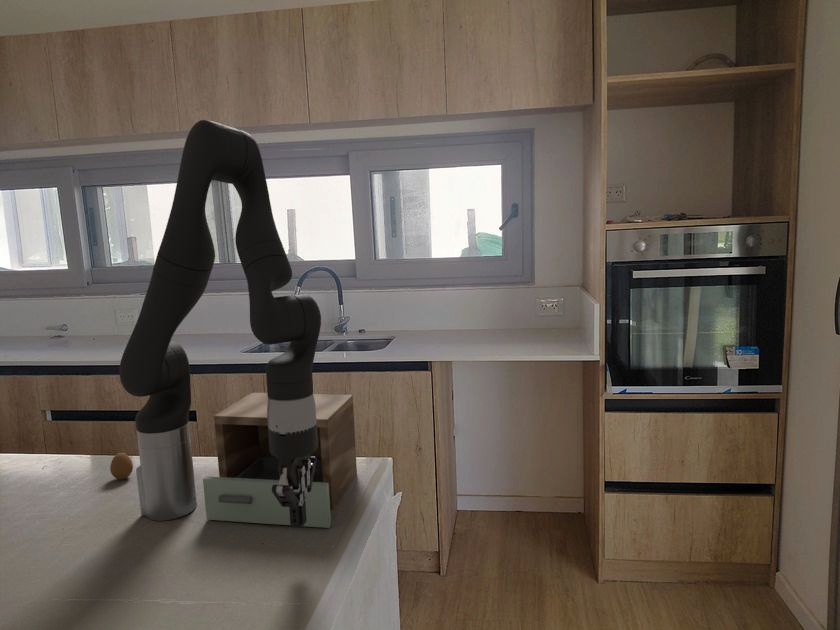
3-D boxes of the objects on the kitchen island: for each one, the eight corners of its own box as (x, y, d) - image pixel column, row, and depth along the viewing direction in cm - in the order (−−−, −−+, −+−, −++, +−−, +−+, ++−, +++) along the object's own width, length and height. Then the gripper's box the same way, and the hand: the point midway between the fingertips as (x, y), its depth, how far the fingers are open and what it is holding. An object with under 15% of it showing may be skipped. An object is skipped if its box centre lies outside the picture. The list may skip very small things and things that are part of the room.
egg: (128, 482, 128) (124, 456, 127) (107, 483, 128) (104, 457, 127) (137, 474, 132) (135, 448, 131) (118, 474, 132) (115, 449, 131)
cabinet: (221, 502, 117) (213, 415, 114) (258, 469, 132) (252, 392, 129) (332, 509, 112) (327, 419, 109) (356, 474, 128) (352, 394, 125)
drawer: (202, 522, 108) (198, 482, 107) (258, 472, 130) (255, 437, 129) (326, 531, 104) (323, 488, 102) (362, 477, 125) (360, 441, 124)
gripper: (287, 408, 99) (293, 504, 102) (250, 436, 86) (258, 544, 89) (329, 409, 98) (334, 507, 100) (298, 438, 85) (304, 549, 88)
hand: (298, 524), depth 95 cm, fingers closed
